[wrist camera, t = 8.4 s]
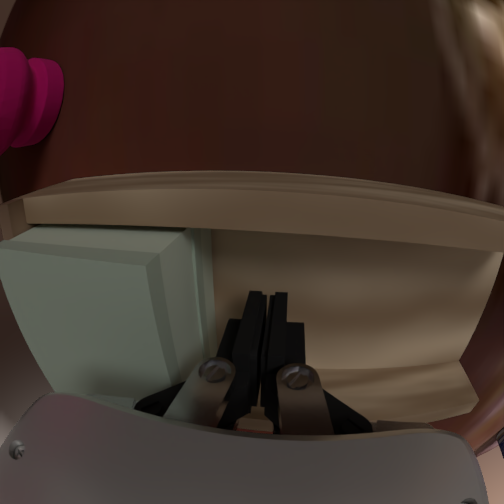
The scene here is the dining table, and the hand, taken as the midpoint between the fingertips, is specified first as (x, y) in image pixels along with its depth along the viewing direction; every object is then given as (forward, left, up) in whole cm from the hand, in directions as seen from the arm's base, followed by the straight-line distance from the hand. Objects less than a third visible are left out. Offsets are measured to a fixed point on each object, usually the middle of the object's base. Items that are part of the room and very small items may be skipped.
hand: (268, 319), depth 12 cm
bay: (0, +1, -3) cm, 3 cm away
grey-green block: (0, -7, -2) cm, 7 cm away
